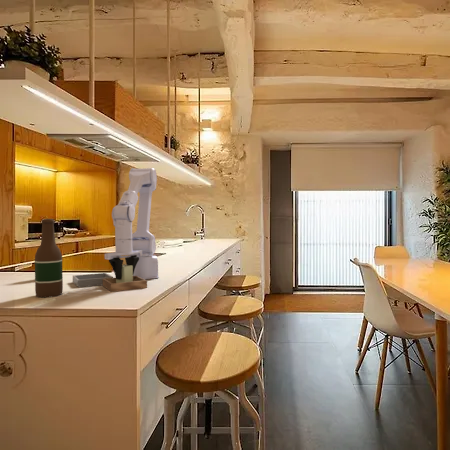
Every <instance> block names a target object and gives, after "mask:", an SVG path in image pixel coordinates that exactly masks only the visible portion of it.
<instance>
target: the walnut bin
mask: <svg viewBox="0 0 450 450" xmlns="http://www.w3.org/2000/svg"><path fill="white" fill-rule="evenodd" d="M102 286H103V288H105V289H107V290H109V291H110V292H119V291H121V292H122V291H127V290H138V289H147V288H148V279H143V278H140V277H138V276H133V282H123V283H116V277H113V278H106V279H103V285H102Z"/></svg>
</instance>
